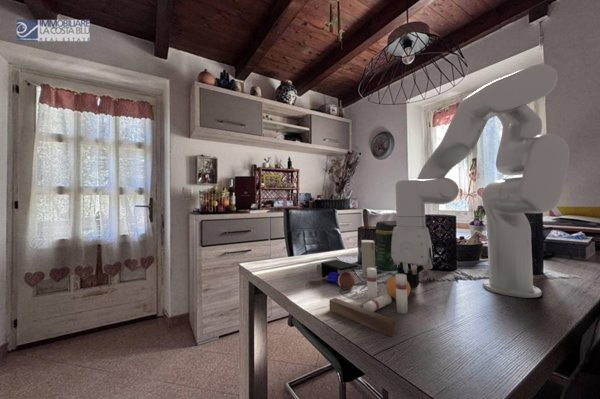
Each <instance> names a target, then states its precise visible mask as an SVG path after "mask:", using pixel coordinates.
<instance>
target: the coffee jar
mask: <svg viewBox="0 0 600 399" xmlns="http://www.w3.org/2000/svg"><path fill="white" fill-rule="evenodd" d="M394 227H397V225H396V223H395V222H393V220H381V221H377V222H376V223H375V233H376V237H377V238H376V239H377V240H376V241H377V242H376V245H377V246H376V256H375V267H377V268H378V269H379V270H385V271H395V270H398V269H397V268H398V267H397V264H395V263H394V262H393V261H394V260H393V259H392V256H391V245H392V235H393V229H394Z"/></svg>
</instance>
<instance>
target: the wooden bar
mask: <svg viewBox="0 0 600 399" xmlns="http://www.w3.org/2000/svg"><path fill="white" fill-rule="evenodd" d="M328 305H329V311H330V312H333V313H335V314H337V315H340V316H341V317H344V318H346V319H349V320H352V321H354V322H356V323H358V324H360V325H363V326H365V327H367V328H369V329H372V330H375V331H376V332H379V333H382V334H383V335H387V336H389V337H391V338H392V337H393V336H395V335H396V334H397V320H396V319H393V318H391V317H388V316H386V315H384V314H380V313H377V312H376V311H374V312H372V311H369V310H367V309H364V308H363V307H361V306H359V305H355V304H353V303H350V302H348V301H344V300H342V299H339V298H336V297H333V298H331V299H329V304H328Z"/></svg>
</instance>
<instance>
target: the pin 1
mask: <svg viewBox="0 0 600 399" xmlns="http://www.w3.org/2000/svg"><path fill="white" fill-rule="evenodd" d="M377 273H378V272H377V268H376V267H375V268H367V278H366V281H367V282H366V285H367V286H366V287H367V302H368V301H371V300H373V299H375V298H377V297H378V281H377V280H378V279H377V278H378V277H377V276H378V275H377Z"/></svg>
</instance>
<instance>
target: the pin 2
mask: <svg viewBox="0 0 600 399" xmlns="http://www.w3.org/2000/svg"><path fill="white" fill-rule="evenodd" d="M395 276H396V299H395V301H396V302H395V305H396V312H397V313H399V314H403V315H405V314H408V313H409V312H408V311H409V310H408V309H409V308H408V306H409V305H408V297H407V275H406V273H396V274H395Z"/></svg>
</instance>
